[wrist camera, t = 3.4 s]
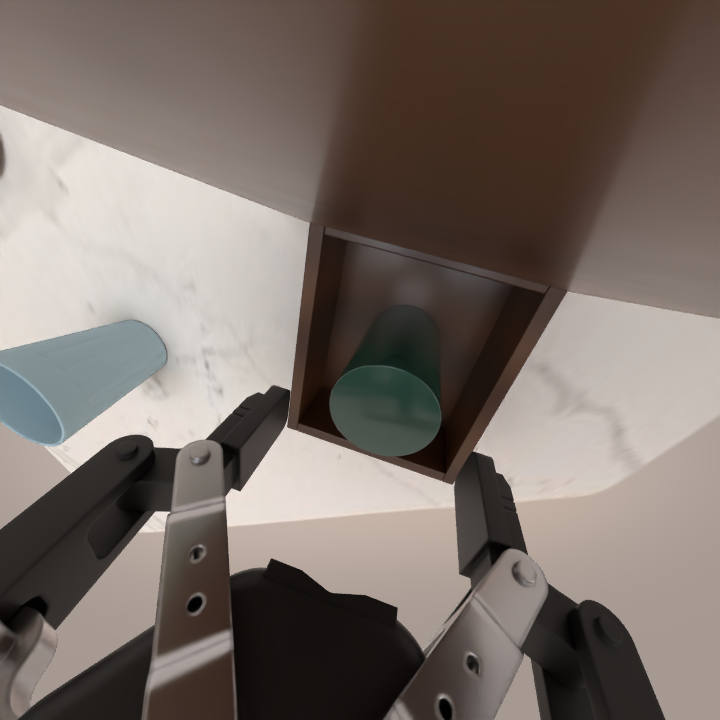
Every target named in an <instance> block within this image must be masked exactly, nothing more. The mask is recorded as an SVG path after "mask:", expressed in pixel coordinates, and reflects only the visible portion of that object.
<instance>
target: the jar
mask: <svg viewBox="0 0 720 720" xmlns="http://www.w3.org/2000/svg"><path fill="white" fill-rule="evenodd" d="M330 412H331V416H332V419H333V421H334V423H335V425H336V427H337V428H338V430H339V431H340V432H341V433H342V435H343V436H344V437H345V438H346V439H348V440H349V441H350V442H351V443H353V444H354V445H356V446H357V447H359V448H361V449H363V450H365V451H368V452H370V453H374V454H377V455H382V456H404V455H409V454H412V453H415V452H417V451H419V450H421V449H423V448H424V447H426V446H427V445H428V444H429V443H430V442H431V441H432V440H433V439H434V438H435V436H436V434H437V433H438V431H439V428H440V424H441V336H440V331H439V328H438V326H437V324H436V322H435V321H434V319H433V318H432V317H431V316H430V315H429V314H428V313H426V312H425V311H423V310H421V309H420V308H417V307H414V306H410V305H396V306H392V307H389V308H387V309H385V310H383V311H381V312H380V313H379V314H378V315H377V316H376V317H375V318H374V319H373V321H372V322H371V324H370V326H369V327H368V329H367V331H366V332H365V334H364V336H363V338H362V339H361V341H360V343H359V344H358V346H357V348H356V349H355V351H354V353H353V355H352V356H351V358H350V360H349V361H348V363H347V365H346V367H345V368H344V370H343V372H342V373H341V375H340V377H339V379H338V380H337V382H336V384H335V385H334V387H333V389H332V392H331V395H330Z"/></svg>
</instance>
